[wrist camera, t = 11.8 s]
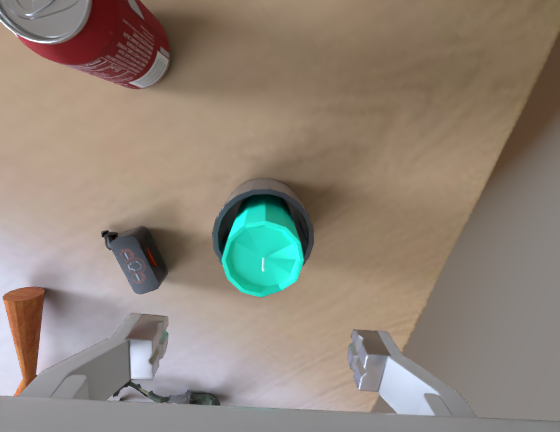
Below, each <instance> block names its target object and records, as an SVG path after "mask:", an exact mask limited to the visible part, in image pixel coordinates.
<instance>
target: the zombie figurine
mask: <svg viewBox="0 0 560 432" xmlns="http://www.w3.org/2000/svg"><path fill="white" fill-rule="evenodd" d="M128 386H131V387H133V388H135V389H136V390H138V391H140V392H141V393H142V394H144V395H145V396H146V397H148V398H150V399H152V400H153V401H154V402H156V403H164V402H166V403H177V404H193V405H214V406H220V402H219V401H218V400H217V398H215V397H214V396H213V395H211V394H209V393H207V394H194V393H192V392H190V391H187V392H186V393H185V394H183V395H178V396H172V395H171V396H169V397H162V396H158V395H156V394H154V393H153V391H150V392H148V391H146V390H144V389H142V388H141V386H140V384H137V385H136V384H134V383H132V382H131V379H130V381H129V382H127V383H126V384H125V385H124V386H122V387H121V388H120V389H119V390H118V391H116V392H115V393H114V394H113V397H115V396H118V394H119V392H120V390H121V389H122V388H124V387H128ZM119 401H123V400H122V399H120V400H119Z"/></svg>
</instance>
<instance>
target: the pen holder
mask: <svg viewBox="0 0 560 432" xmlns="http://www.w3.org/2000/svg"><path fill="white" fill-rule="evenodd" d="M258 194H270V195H274V196H278V197H280V198H281V199H282V201H283V202H284V203H285V204H286V205H287V206H288V207H289V209H290V212H291V215H292V218H293V221H294V224H295V227H296V230H297V233H298V236H299V239H300V242H301V248H302V253H303V258H304V262H303V265H304V264H305V262H306V261H307V260H308V258H309V256H310V253H311V250H312V247H313V243H314V229H313V226H312V223H311V220H310V217H309V214H308V213H307V211H306V209H305V207H304V205H303V204H302V202H301V200H300V199H299V197H298V196H297V195H296V193H295V192H294V191H293V190H292V189H291V188H290V187H288V186H287V185H285V184H284V183H282V182H279V181H277V180H273V179H266V178H261V179H254V180H251V181H248V182H246V183H244V184H242V185H240V186H239V187H238V188H236V189H235V190H234V191H233V192H232V193H231V195H230V196H229V198H228V200H227V201H226V203H225V204H224V206H223V208H222V209H221V211H220V212H219V214H218V216H217V217H216V219H215V223H214V228H213V232H212V238H213V247H214V251H215V253H216V255H217V257H218V259H219V261H220V263H221V264H222V261H221V260H222V256H223V253H224V250H225V246H226V243H227V240H228V237H229V234H230V232H231V229H232V226H233V224H234V221H235V218H236V215H237V213H238V210H239V207H240V205H241V204H242V203H243V202H245V201H246V200H247V199H248V198H249V197H250V196H252V195H258ZM222 265H223V264H222ZM303 265H302V266H303Z"/></svg>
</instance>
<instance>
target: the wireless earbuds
mask: <svg viewBox="0 0 560 432" xmlns="http://www.w3.org/2000/svg"><path fill="white" fill-rule="evenodd" d="M101 235H102V237H104V238H105V244H106V247H107V248H108V249H109V250H112V251H113V253H114V255H115V257H116V259H117V260H118V262H119V264H120V266H121V268H122V270H123V272H124V274H125V275H126V277H127V279H128V281H129V283H130V285H131V287H132V288H133V290H134V292H135V293H137V294H144V293H147V292H150V291H153V290H156V289H158V288H159V286H160V285H161V283H162V282H163V281H164V279H165V278H166V276H167V275H168V270H167V268H166V266H165V264H164V262H163V260H162V258H161V256H160V254H159V252H158V250H157V247H156V245H155V243H154V241H153V239H152V237H151V235H150V233H149V231H148V229H147V228H146V227H143V226H141V227H138V228H135V229H131V230H128V231H126V232H124V233H123V234H121V235H120V236H118V233H117V232H109V231H108V230H106V231H102V232H101Z"/></svg>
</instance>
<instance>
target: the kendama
mask: <svg viewBox="0 0 560 432" xmlns="http://www.w3.org/2000/svg"><path fill="white" fill-rule="evenodd" d="M3 300H4V304H5V308H6V312H7V316H8V320H9V324H10V328H11V332H12V336H13V340H14V344H15V348H16V352H17V356H18V360H19V364H20V368H21V372H22V376H23V380H22V381H21V383H20V385H19V387H18V389H17V391H16V393H15V395H14V396H19V395H20V394H21V393H22V391H23V390H24V389H25V388H26V387H27V386H28V385H29V384H30V383H31V382H32V381H33V380H34V379H35V378H36V377H37V375H36V369H37V359H38V349H39V340H40V330H41V320H42V311H43V301H44V289H43V288H40V287H25V288H20V289H16V290H13V291H10V292H8V293H6V294H5V295H4V296H3Z"/></svg>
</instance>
